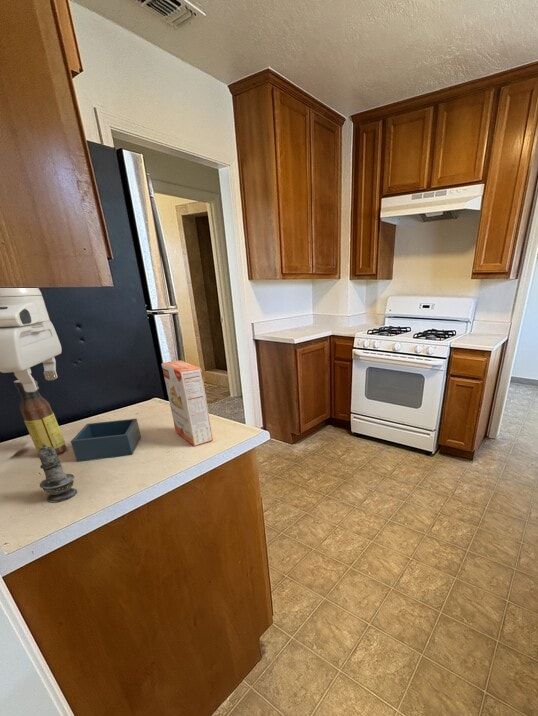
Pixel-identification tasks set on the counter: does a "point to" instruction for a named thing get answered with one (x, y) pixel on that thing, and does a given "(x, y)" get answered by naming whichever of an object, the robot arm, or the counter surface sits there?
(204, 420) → the cracker box
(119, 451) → the bin
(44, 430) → the sauce bottle
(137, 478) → the counter surface
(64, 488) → the grey chess piece
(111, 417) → the counter surface
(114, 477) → the counter surface
